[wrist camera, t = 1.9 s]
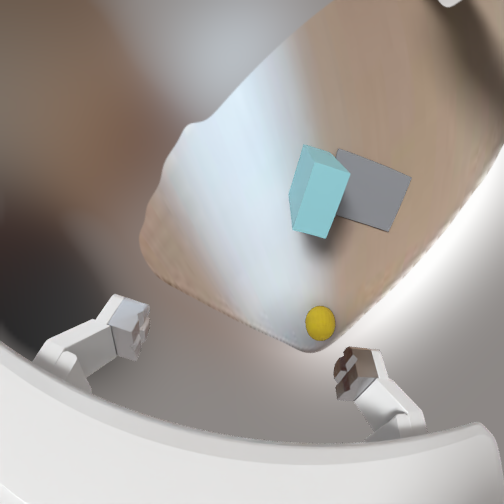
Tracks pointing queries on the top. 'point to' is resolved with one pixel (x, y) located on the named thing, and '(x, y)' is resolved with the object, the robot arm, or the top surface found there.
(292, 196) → the teal block
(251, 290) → the top surface
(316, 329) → the lemon
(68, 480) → the robot arm
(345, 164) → the mat
